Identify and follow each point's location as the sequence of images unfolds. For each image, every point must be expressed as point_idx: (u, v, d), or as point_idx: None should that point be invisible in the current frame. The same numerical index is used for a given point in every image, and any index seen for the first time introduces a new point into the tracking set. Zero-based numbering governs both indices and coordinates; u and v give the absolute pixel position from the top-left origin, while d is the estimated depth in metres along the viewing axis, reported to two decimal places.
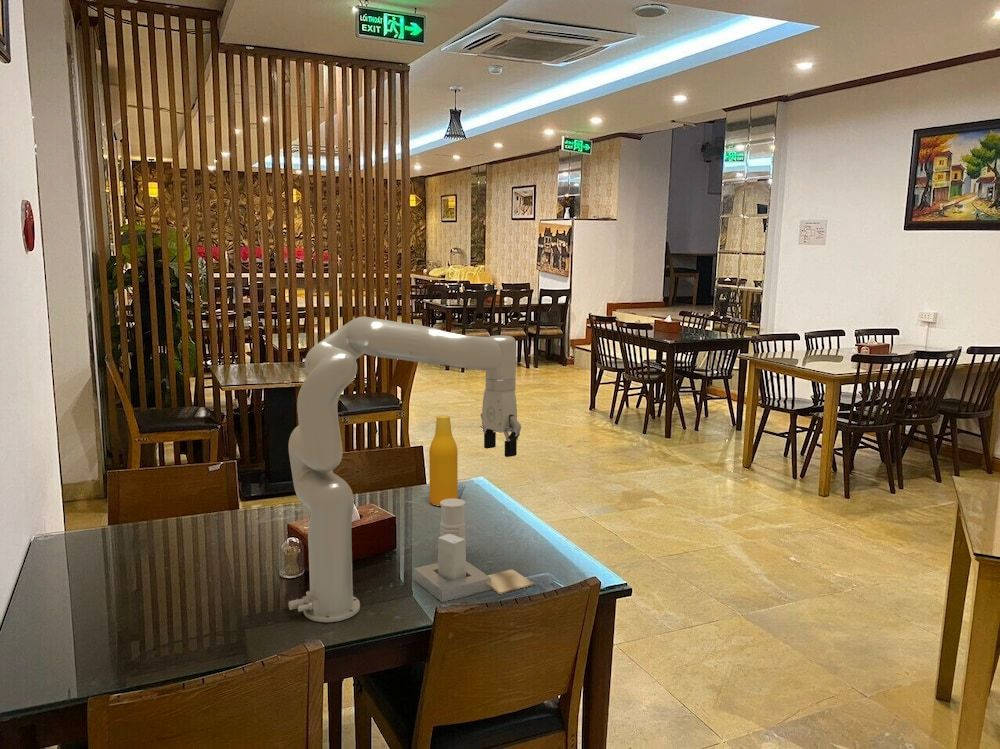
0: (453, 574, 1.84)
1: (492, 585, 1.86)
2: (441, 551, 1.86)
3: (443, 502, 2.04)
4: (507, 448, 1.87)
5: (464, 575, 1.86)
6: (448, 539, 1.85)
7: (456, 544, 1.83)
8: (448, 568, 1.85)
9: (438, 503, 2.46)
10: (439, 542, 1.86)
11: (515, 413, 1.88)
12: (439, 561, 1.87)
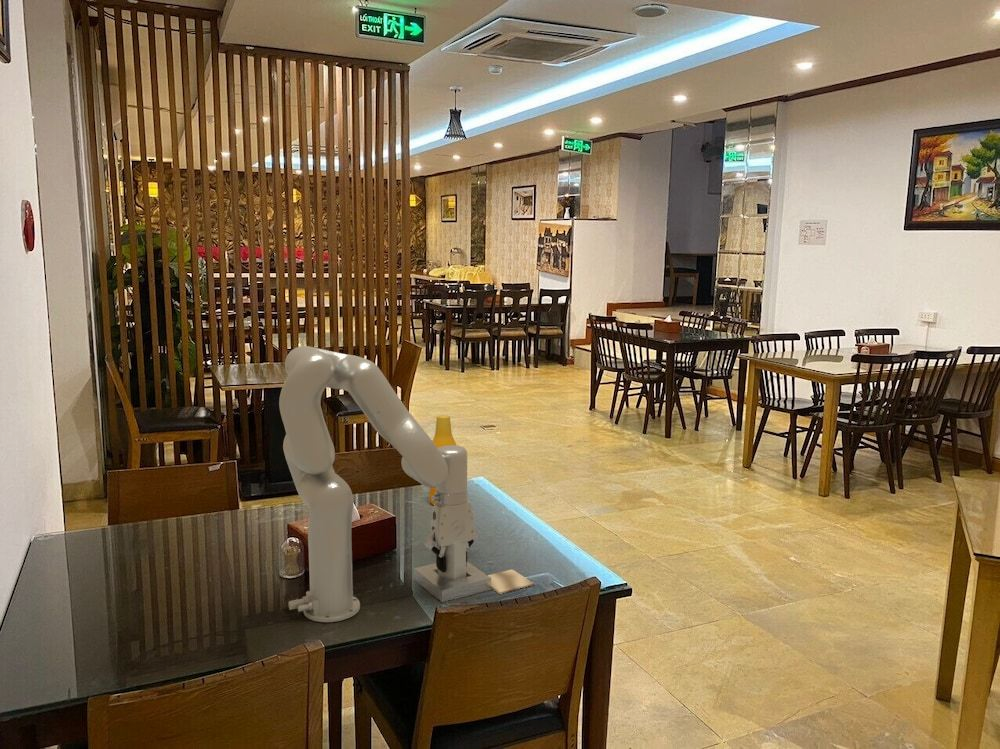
0: (453, 574, 1.84)
1: (492, 585, 1.86)
2: None
3: None
4: None
5: (464, 575, 1.86)
6: None
7: (456, 544, 1.83)
8: (448, 568, 1.85)
9: None
10: None
11: None
12: None
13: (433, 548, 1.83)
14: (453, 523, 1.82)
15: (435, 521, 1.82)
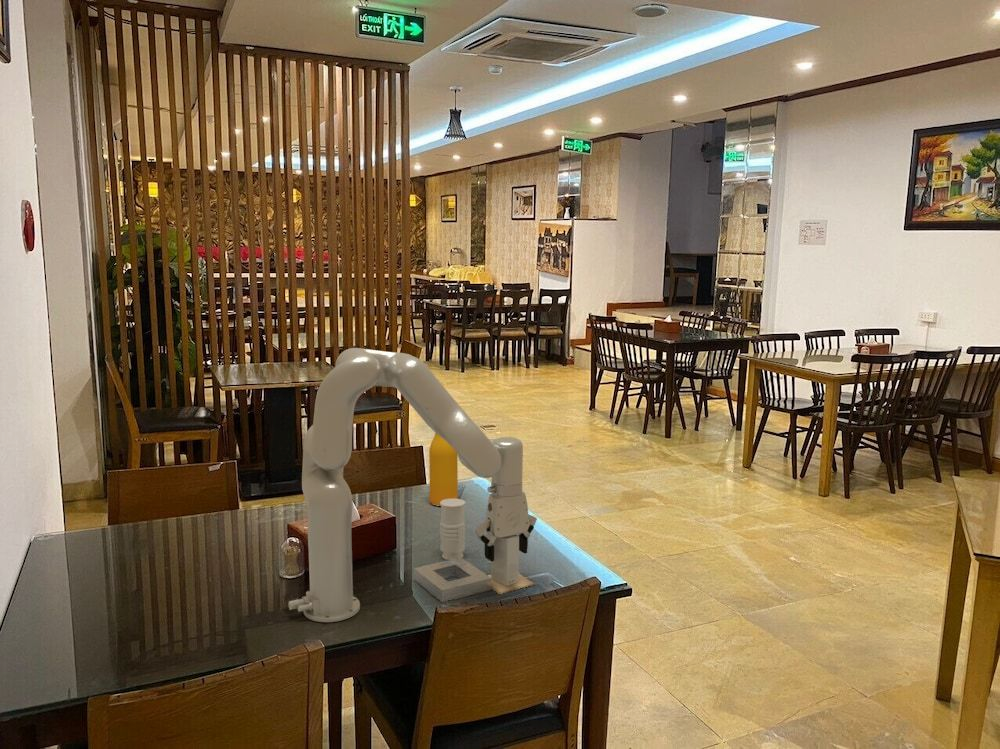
0: (506, 570, 1.85)
1: (492, 585, 1.86)
2: (494, 547, 1.87)
3: (443, 502, 2.04)
4: None
5: (517, 571, 1.87)
6: None
7: (509, 540, 1.84)
8: (501, 564, 1.86)
9: (438, 503, 2.46)
10: None
11: None
12: None
13: (482, 536, 1.83)
14: (509, 514, 1.83)
15: (491, 512, 1.83)
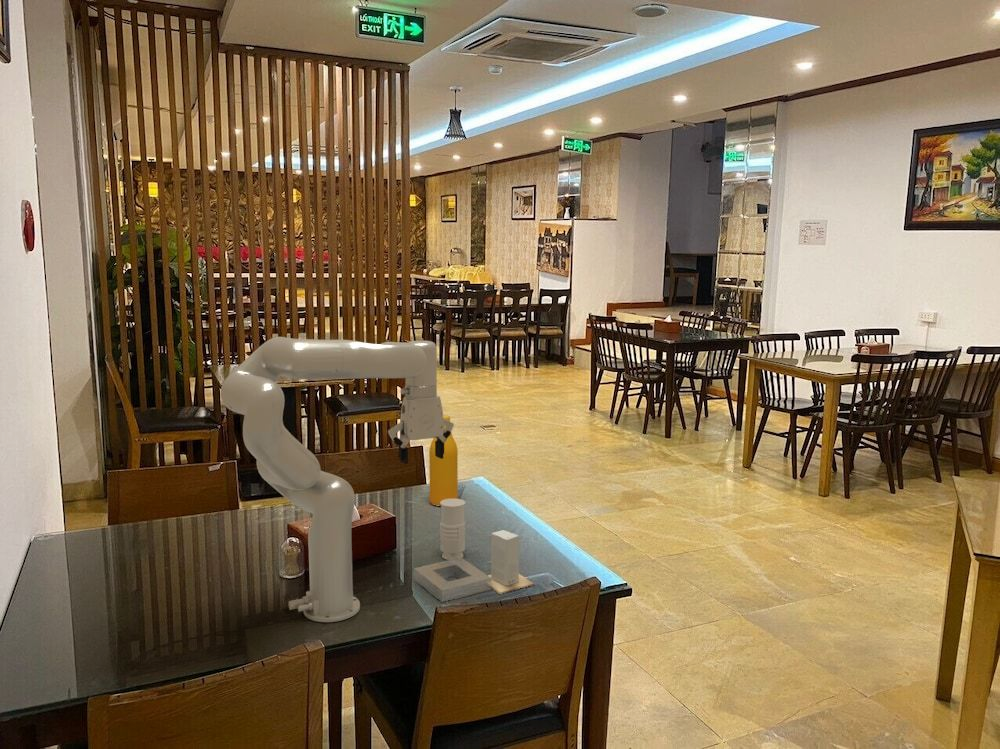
0: (506, 570, 1.85)
1: (492, 585, 1.86)
2: (494, 547, 1.87)
3: (443, 502, 2.04)
4: None
5: (517, 571, 1.87)
6: (501, 535, 1.86)
7: (509, 540, 1.84)
8: (501, 564, 1.86)
9: (438, 503, 2.46)
10: (492, 538, 1.88)
11: None
12: (492, 556, 1.88)
13: (395, 438, 1.82)
14: (422, 417, 1.83)
15: (404, 414, 1.83)
